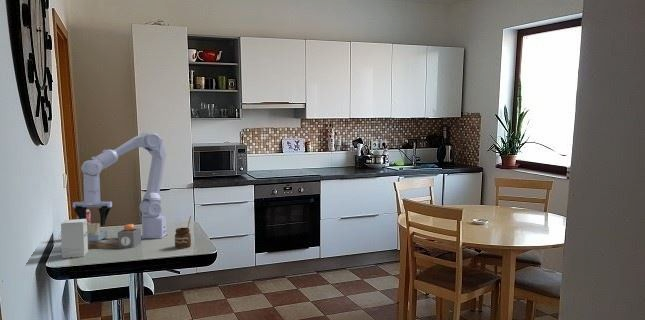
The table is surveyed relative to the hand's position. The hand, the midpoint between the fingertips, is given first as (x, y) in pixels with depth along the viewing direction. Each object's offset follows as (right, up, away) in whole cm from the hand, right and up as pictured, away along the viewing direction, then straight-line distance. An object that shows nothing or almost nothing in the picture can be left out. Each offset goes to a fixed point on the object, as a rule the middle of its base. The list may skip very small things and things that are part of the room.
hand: (93, 225), depth 181 cm
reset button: (+14, -2, 0) cm, 14 cm away
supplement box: (0, -9, -13) cm, 16 cm away
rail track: (+3, -8, +1) cm, 9 cm away
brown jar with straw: (+36, -8, -2) cm, 37 cm away
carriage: (0, -5, 0) cm, 5 cm away
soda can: (-11, -8, +15) cm, 20 cm away
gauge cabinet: (+14, -8, +1) cm, 16 cm away
